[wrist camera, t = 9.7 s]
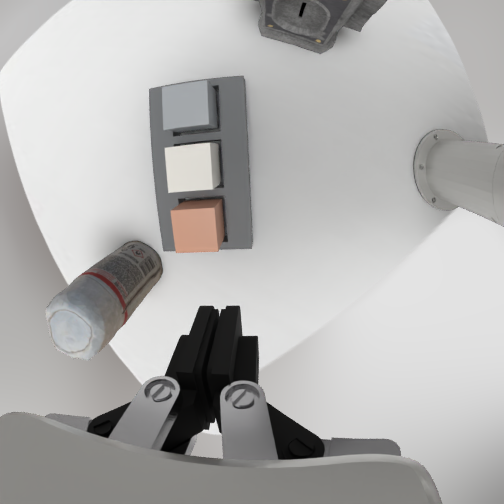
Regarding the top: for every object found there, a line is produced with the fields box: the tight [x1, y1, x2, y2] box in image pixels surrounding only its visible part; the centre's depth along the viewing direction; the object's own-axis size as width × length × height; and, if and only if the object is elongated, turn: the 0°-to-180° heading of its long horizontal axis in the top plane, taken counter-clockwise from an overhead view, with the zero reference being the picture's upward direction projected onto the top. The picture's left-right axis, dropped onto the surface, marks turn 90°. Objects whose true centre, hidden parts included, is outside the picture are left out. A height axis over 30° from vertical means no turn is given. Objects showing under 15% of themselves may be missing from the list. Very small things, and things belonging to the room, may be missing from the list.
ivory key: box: [165, 143, 221, 193], centre depth 30 cm, size 5×5×6 cm
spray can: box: [45, 241, 162, 360], centre depth 31 cm, size 8×8×20 cm
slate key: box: [162, 80, 218, 133], centre depth 28 cm, size 5×5×6 cm
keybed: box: [149, 76, 253, 251], centre depth 34 cm, size 12×22×3 cm, turn 3°
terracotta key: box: [171, 198, 225, 253], centre depth 33 cm, size 5×5×6 cm
